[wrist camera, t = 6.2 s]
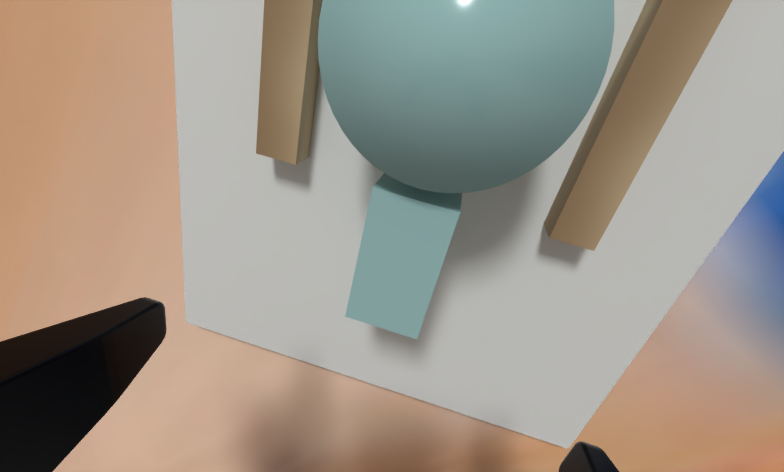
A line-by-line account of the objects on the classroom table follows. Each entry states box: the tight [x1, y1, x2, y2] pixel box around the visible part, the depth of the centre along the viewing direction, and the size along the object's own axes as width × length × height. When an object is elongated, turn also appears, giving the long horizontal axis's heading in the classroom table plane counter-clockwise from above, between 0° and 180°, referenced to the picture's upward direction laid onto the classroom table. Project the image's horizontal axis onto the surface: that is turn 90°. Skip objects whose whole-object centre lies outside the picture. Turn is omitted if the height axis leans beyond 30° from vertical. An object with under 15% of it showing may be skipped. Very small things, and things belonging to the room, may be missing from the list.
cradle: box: [256, 0, 732, 251], centre depth 11 cm, size 12×10×1 cm
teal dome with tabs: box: [318, 0, 614, 339], centre depth 11 cm, size 12×6×4 cm, turn 167°
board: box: [172, 0, 784, 449], centre depth 14 cm, size 20×21×1 cm
